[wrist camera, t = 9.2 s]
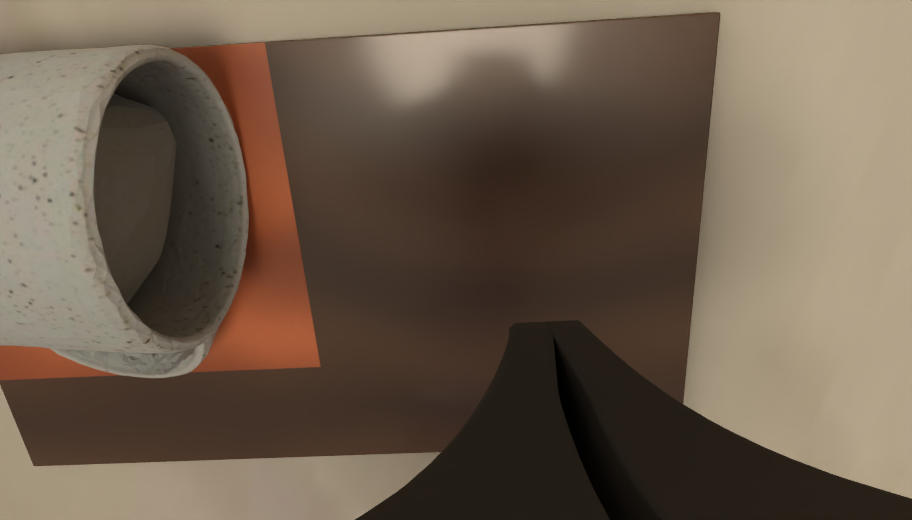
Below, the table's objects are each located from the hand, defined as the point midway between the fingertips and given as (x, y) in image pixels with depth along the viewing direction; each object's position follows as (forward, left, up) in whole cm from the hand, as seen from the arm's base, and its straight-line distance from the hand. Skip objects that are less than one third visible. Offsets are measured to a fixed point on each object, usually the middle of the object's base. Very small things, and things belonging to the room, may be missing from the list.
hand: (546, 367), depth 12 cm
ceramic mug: (+1, +12, -9) cm, 15 cm away
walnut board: (-2, +7, -9) cm, 11 cm away
